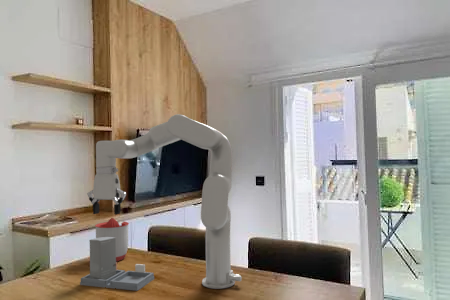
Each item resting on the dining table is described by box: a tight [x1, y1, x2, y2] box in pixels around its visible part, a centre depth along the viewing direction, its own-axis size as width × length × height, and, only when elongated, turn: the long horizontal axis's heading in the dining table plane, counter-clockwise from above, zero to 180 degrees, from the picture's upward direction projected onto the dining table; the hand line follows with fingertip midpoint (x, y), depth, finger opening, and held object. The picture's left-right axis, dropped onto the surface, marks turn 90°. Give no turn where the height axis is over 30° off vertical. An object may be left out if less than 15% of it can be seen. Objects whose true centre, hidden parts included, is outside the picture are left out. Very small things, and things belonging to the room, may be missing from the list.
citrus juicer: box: [94, 217, 130, 263], centre depth 171 cm, size 16×17×20 cm
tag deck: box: [79, 261, 155, 291], centre depth 139 cm, size 25×13×6 cm, turn 74°
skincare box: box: [89, 237, 116, 280], centre depth 141 cm, size 8×7×16 cm
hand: (106, 213), depth 142 cm, fingers open, 9 cm apart
